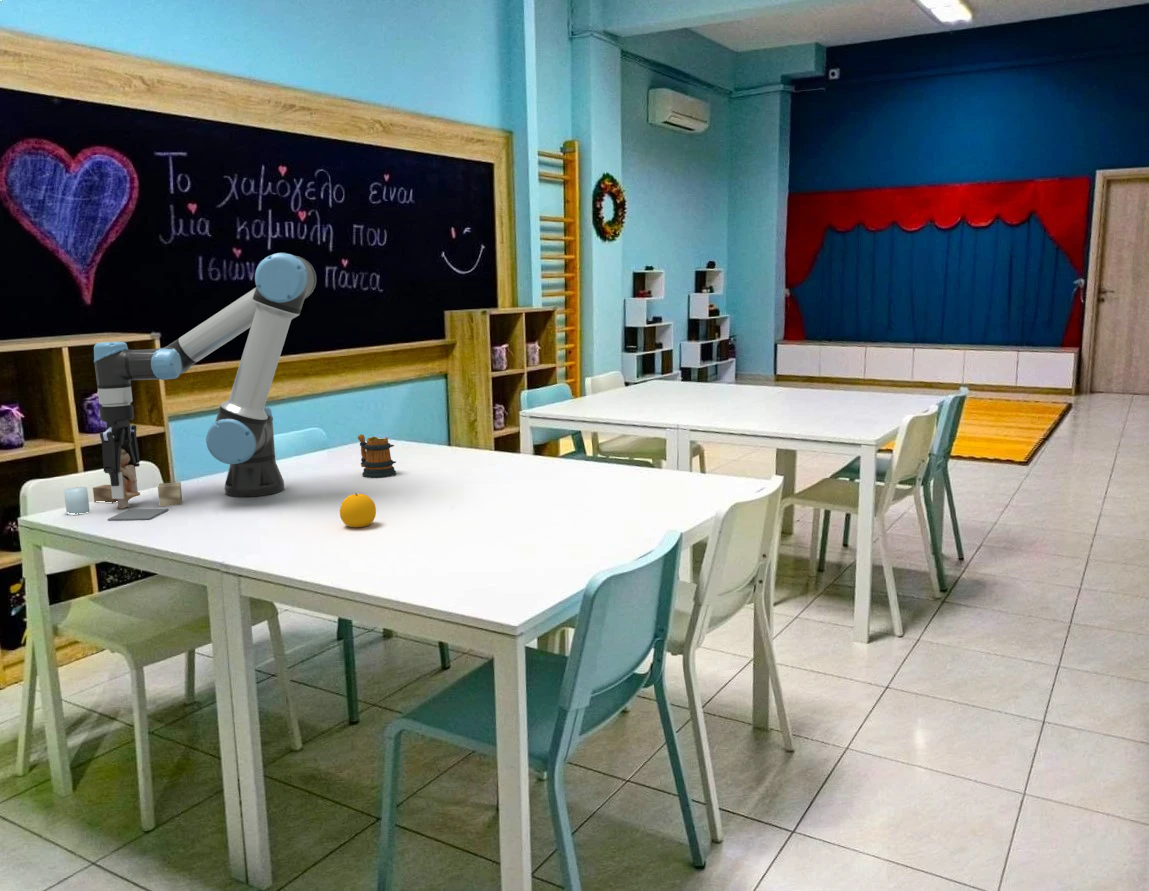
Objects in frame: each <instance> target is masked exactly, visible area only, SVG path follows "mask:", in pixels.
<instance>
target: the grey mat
mask: <svg viewBox="0 0 1149 891" xmlns="http://www.w3.org/2000/svg"><path fill="white" fill-rule="evenodd" d="M169 510H170V509H169V508H138V509H137V508H134V509H133V508H132V509H131V508H130V509H126V510H124V511H122V512H119V513H118V514H115V515H114V516H112V517H109V518H107V521H109V522H110V521H111V522H112V521H115V522H116V521H117V522H118V521H119V522H121V521H151V520H153V519H154V518H156V517H158V516H160V515H162V514H164V513H166V512H168V511H169Z"/></svg>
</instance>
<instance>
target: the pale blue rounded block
mask: <svg viewBox="0 0 1149 891" xmlns="http://www.w3.org/2000/svg"><path fill="white" fill-rule="evenodd" d="M63 490H64V491H63V492H64V502H65V509H66V513H67V512H69V513H75V514H77V513H78V514H79V513H86V512H89V511H90V503H89V502H90V501H89V493H88V487H86V486H76V487H70V488H66V489H63ZM89 513H90V512H89ZM86 514H87V513H86Z"/></svg>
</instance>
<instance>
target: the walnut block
mask: <svg viewBox="0 0 1149 891" xmlns="http://www.w3.org/2000/svg"><path fill="white" fill-rule="evenodd" d="M92 494H93V495H92V496H93V502H94V503H97V502H96V501H105V502H112V503H111V504H114V503H113V502H116V501H117V499H112V491H111V484H101V485H98V486H94V487H92ZM116 503H117V502H116Z"/></svg>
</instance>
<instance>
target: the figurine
mask: <svg viewBox="0 0 1149 891" xmlns="http://www.w3.org/2000/svg"><path fill="white" fill-rule="evenodd" d="M129 461H130V456H129V454H128V453H126V451H125V450H124V449H121V458H120V472H122V477H123V487H124V497H125V498H123V499H117V501H118V502H117V508H118V509H124V508H130V506H131V504H130V503H129V501H130V499H132V498H135V497H139V496H141V492H139V491H138V492H137V491H136V486H135V483H136V482H137V481H138V480H137V472H135V469H136V467H135V468H134V466H133V465H128V462H129ZM108 475H109V476H110V473H108Z"/></svg>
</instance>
